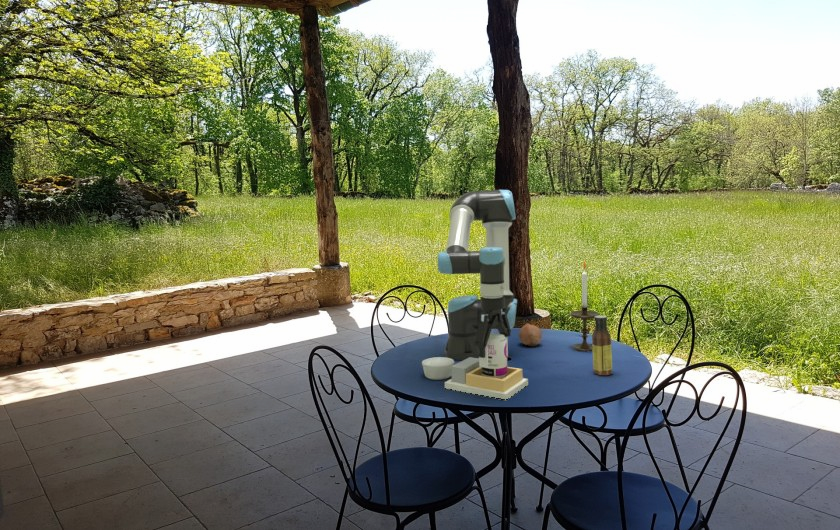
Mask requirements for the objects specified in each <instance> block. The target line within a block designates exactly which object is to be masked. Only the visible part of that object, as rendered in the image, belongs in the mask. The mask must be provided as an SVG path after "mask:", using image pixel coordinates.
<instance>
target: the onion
mask: <svg viewBox="0 0 840 530" xmlns="http://www.w3.org/2000/svg"><path fill="white" fill-rule="evenodd" d="M518 338H519V341H520V342H521V343H522V344H524V346H527V345H528V347H529V346H530V347H535V346H538V345H539V343H540V342H541V341H542V340H543V333H542V331H541V329H540V327H538V326H536V325H533V324H530V323H528V322H527V323H525V324H524V325H523V326H522V327H521V328H520V330H519V331H518Z"/></svg>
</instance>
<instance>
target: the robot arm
mask: <svg viewBox="0 0 840 530" xmlns="http://www.w3.org/2000/svg"><path fill="white" fill-rule="evenodd" d="M516 219H517V217H516V209H515V203H514V196H513V193H512V191H510V190H509V189H489V190H488V189H487V190H472V191H471V190H470V191H468V192H466V193H464V194H463V195H461V196H460V197H458V198H457V199H456V200H455V201H454V202H453V204H452V205H451V207H450V211H449V221H450V226H449V230H448V236H447V242H446V249H445V251H441V252H438V255H437V270H438V272H439V273H440V274H443V275H446V274H447V275H460V274H461V275H463V274H467V275H468V274H472V275H473V274H479V276H480V281H479V282H480V283H479V284H480V286H479V287H480V288H479V289H480V296H481V297H480V299H479V298H478V295H476V294H468V295H461V296H457V297H454V298H451V299H450V300H448V302H447V320H448V322H447V325H448V338H447V342H446V344H445V348H444V356H445V357H446V358H451V359H453V360H454V361H455V360H456V361H463V360H465V359H467V358H469V357H472V358H478V359H479V367H484V368H488V347H486V345H487V342H488V339H489V336H490V333H491V332H492V330H497V331H498V334H503V335H504V337H505V338H506V341H507V357H509V350H508V346H509V345H508V341H509V340H508V337H511V336H512V334H511V333H512V330H511V329H513V328H514V327H515V325H516V324H515V323H516V314H517V307H518V305H517V304H518V299H517V298H514V293H513V292H512V291H511V290H510V259H509V258H510V255H509V254H510V252H509V228H510V227H511V226H512V225H513V220H516ZM474 221H480V222H481V226H483V227H484V229H485V241H486V242H485V243H486V244H485V245H486V247H485V246H484V247H482V248H480V250H471V251H469V244H470V235H471V227H472V225H471V224H472V223H473V222H474Z"/></svg>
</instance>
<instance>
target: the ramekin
mask: <svg viewBox="0 0 840 530" xmlns="http://www.w3.org/2000/svg"><path fill="white" fill-rule="evenodd" d="M421 365H422V368H423V372H424V376H425V377H426V378H427V379H429V380H434V381H435V380H436V381H437V380H438V381H439V380H440V381H441V380H447V379H449V378H452V374H451V366H453V365H455V360H454V359H451V358H447V357H446V356H445V357H444V356H437V357H436V356H435V357H430V358H426V359H423V360H422V361H421Z"/></svg>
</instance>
